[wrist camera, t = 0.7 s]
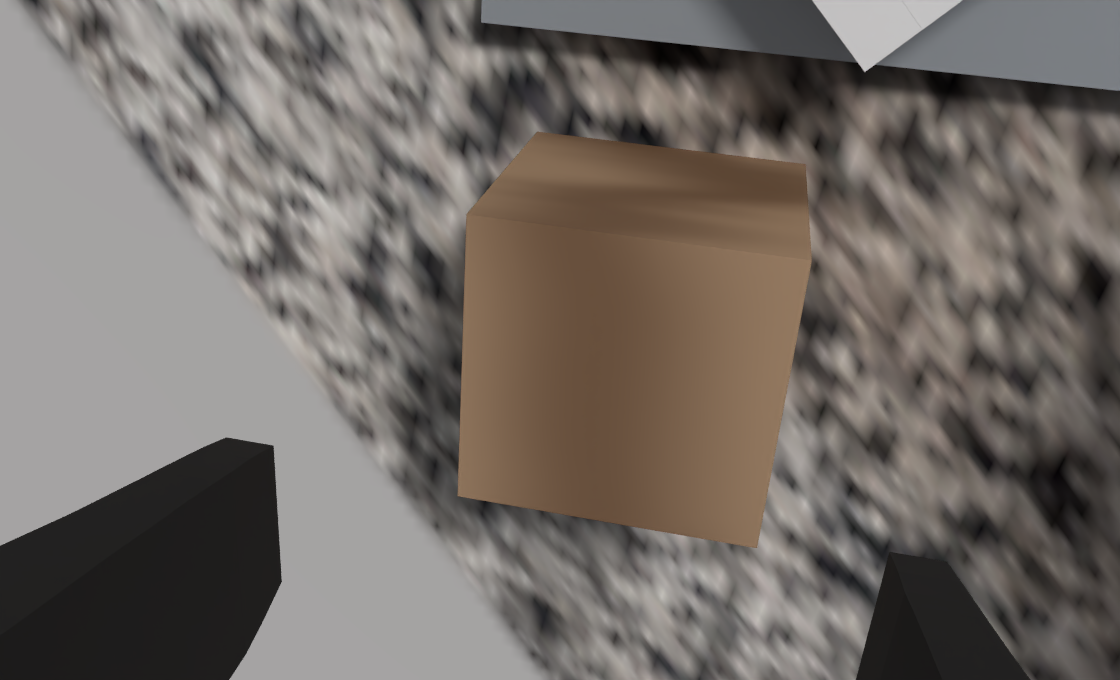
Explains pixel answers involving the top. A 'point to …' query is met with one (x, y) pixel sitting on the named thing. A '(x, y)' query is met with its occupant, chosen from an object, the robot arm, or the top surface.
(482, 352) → the block
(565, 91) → the top surface
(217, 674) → the robot arm
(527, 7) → the base plate
